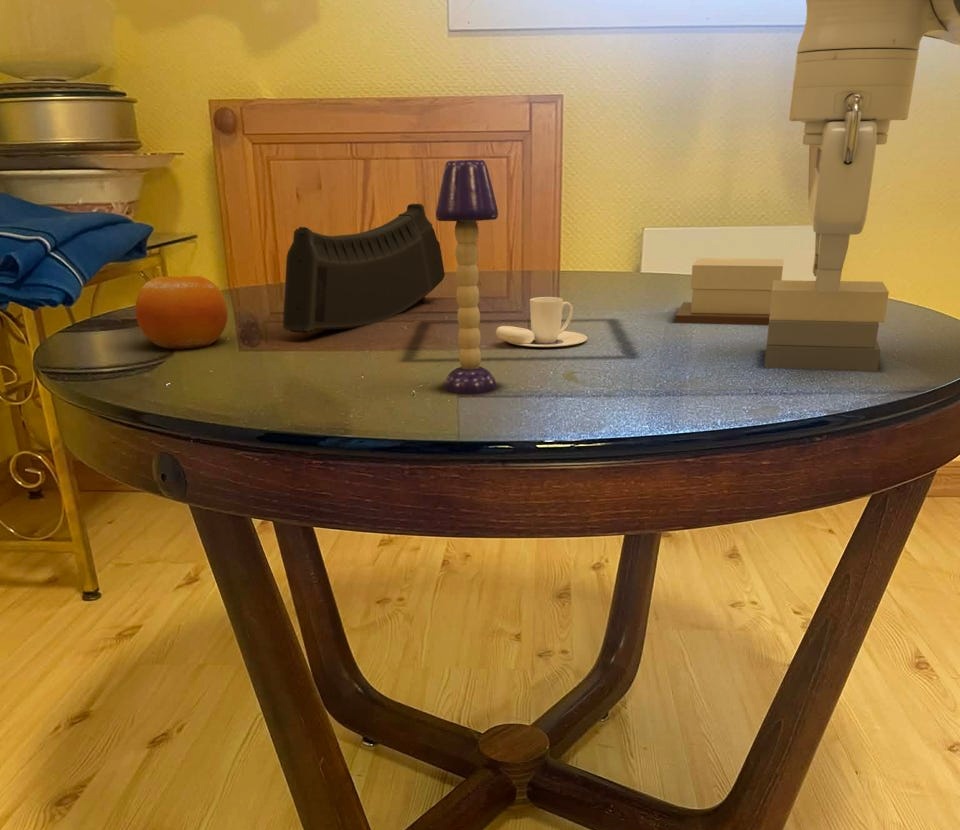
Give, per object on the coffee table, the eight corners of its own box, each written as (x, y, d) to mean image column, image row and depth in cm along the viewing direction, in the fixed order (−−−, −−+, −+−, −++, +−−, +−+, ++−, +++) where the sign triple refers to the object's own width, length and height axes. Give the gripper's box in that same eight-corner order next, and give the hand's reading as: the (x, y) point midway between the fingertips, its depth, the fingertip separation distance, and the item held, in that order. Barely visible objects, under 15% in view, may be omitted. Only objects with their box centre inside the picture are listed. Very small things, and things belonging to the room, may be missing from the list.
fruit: (236, 299, 104) (189, 235, 98) (248, 343, 98) (199, 278, 92) (167, 340, 105) (116, 279, 99) (175, 386, 99) (122, 324, 93)
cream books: (793, 313, 110) (799, 257, 108) (793, 327, 103) (800, 267, 100) (682, 311, 113) (686, 256, 111) (674, 324, 106) (678, 266, 103)
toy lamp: (433, 387, 82) (424, 160, 75) (485, 380, 84) (481, 158, 76) (455, 399, 78) (448, 161, 71) (510, 392, 80) (509, 159, 72)
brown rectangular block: (870, 357, 89) (878, 309, 87) (876, 373, 83) (884, 323, 81) (765, 353, 91) (770, 307, 90) (764, 369, 85) (769, 321, 84)
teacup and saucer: (495, 352, 94) (495, 306, 92) (497, 336, 101) (496, 294, 99) (589, 351, 94) (591, 305, 92) (584, 335, 101) (585, 292, 99)
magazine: (288, 250, 93) (424, 140, 113) (258, 249, 95) (398, 140, 114) (331, 413, 105) (448, 288, 124) (305, 410, 106) (425, 287, 125)
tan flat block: (878, 310, 87) (882, 281, 86) (884, 322, 82) (888, 291, 81) (770, 308, 89) (773, 280, 88) (769, 320, 84) (772, 289, 83)
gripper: (907, 91, 68) (873, 304, 75) (883, 98, 86) (857, 270, 92) (810, 93, 70) (784, 301, 76) (806, 99, 88) (785, 268, 94)
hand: (824, 284), depth 84 cm, fingers open, 8 cm apart
